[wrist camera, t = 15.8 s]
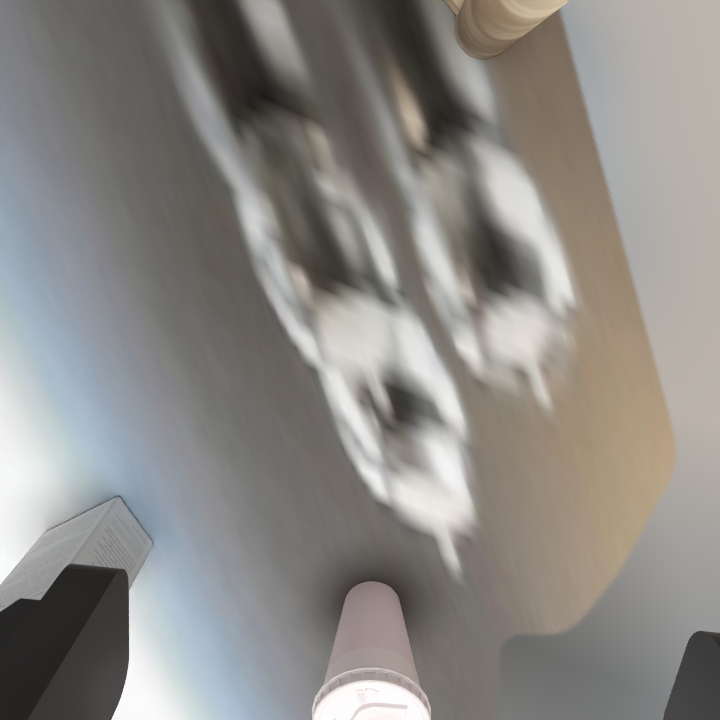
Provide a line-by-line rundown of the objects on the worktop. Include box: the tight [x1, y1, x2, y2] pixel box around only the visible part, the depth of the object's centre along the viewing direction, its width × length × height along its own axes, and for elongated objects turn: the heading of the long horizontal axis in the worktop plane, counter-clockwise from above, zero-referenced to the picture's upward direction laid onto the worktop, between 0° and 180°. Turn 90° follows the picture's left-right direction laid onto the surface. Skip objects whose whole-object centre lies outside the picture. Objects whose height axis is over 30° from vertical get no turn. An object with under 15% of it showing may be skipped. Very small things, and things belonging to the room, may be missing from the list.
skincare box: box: [0, 497, 153, 611], centre depth 36 cm, size 6×4×12 cm
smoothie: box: [312, 581, 431, 720], centre depth 36 cm, size 6×6×14 cm
